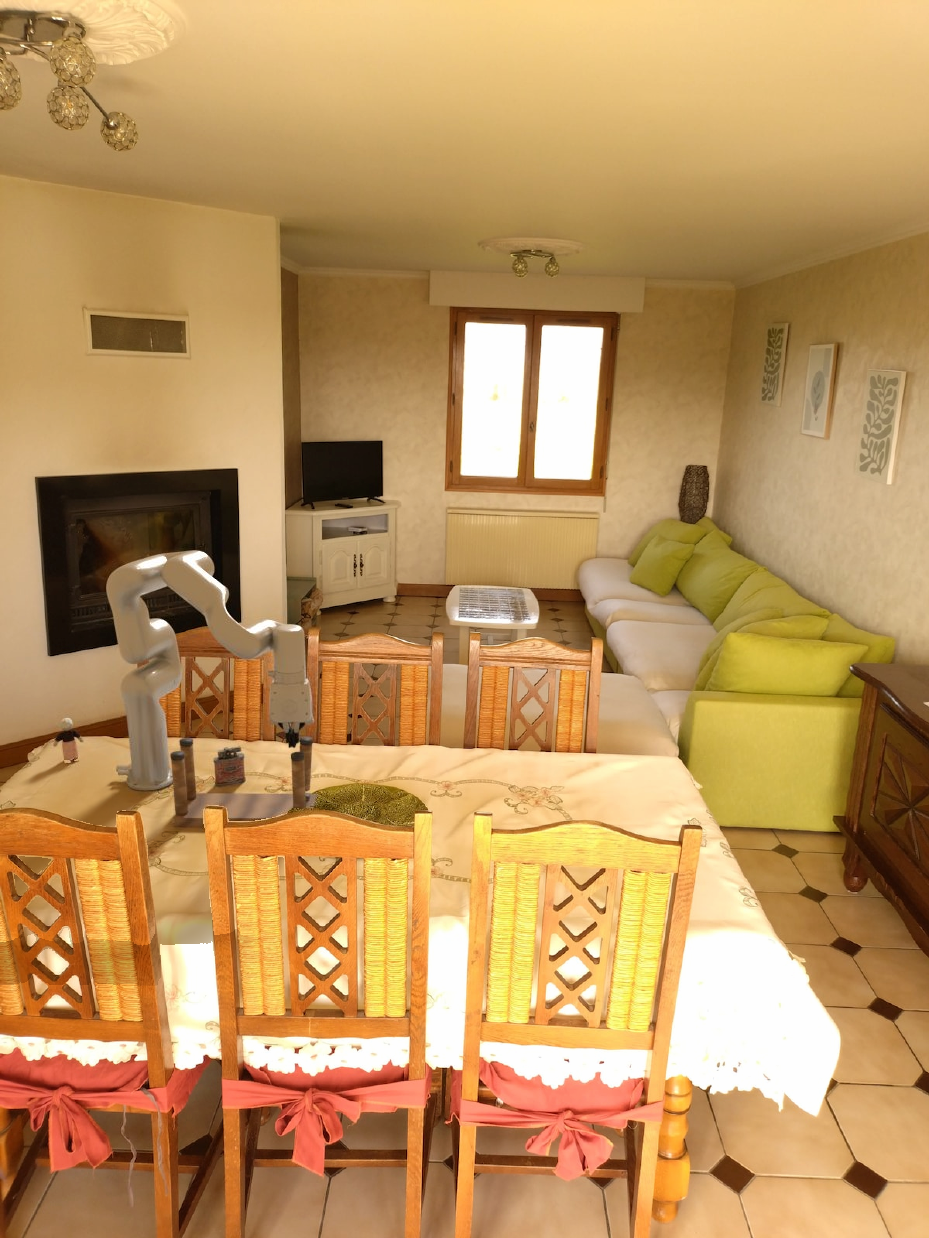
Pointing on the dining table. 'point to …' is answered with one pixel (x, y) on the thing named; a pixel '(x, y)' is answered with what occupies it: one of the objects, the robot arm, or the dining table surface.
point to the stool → (236, 803)
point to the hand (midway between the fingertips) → (292, 745)
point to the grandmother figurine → (68, 740)
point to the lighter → (229, 767)
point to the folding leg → (307, 758)
